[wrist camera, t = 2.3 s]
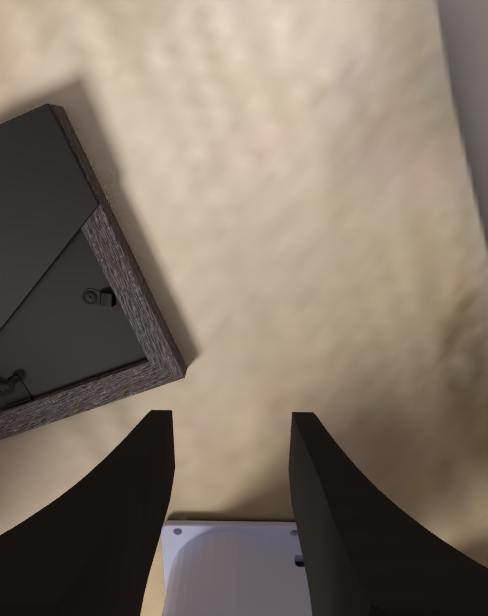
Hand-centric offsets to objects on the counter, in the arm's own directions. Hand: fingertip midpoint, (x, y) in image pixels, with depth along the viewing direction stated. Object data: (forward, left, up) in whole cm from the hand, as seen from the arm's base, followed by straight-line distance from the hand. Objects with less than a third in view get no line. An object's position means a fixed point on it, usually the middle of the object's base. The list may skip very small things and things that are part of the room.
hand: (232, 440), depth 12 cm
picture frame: (+14, 0, -10) cm, 17 cm away
